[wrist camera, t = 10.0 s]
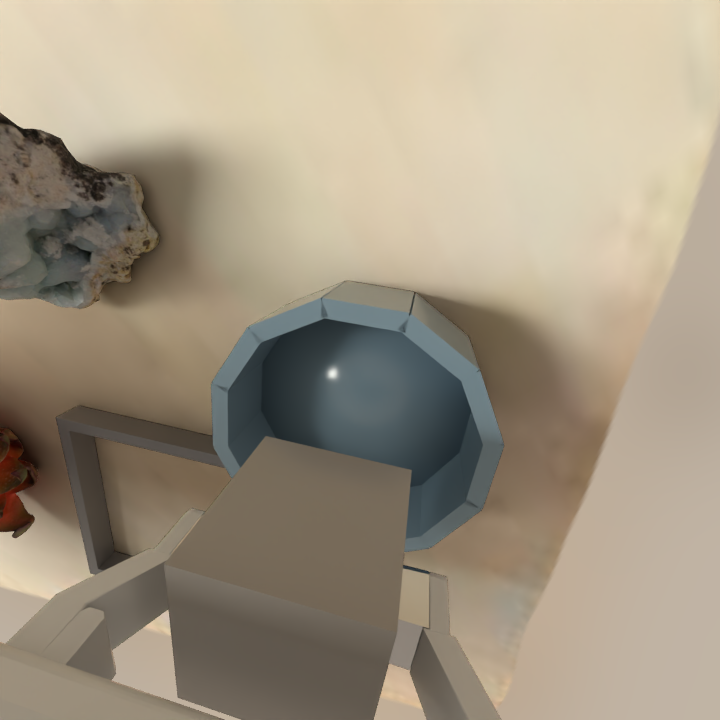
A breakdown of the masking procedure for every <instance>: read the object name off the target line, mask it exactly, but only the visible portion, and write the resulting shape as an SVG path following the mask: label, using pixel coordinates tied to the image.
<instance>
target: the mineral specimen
mask: <svg viewBox="0 0 720 720" xmlns="http://www.w3.org/2000/svg"><path fill="white" fill-rule="evenodd" d="M143 200H144V196H143V191H142V187H141V185H140V184H139V183H138V182H137V180H136V179H135V176H134V175H131V174H128V173H107V172H102V171H100V170H99V169H97V168H95V167H92V166H90V165H87V164H81V163H79V162H78V161H76V160H75V158H74V157H73V156H72V155H71V153H70V152H69V151H68V150H67V148H66V146H65V145H64V143H63V141H62V140H61V138H58V137H56V136H54V135H52V134H49V133H47V132H44V131H41V130H37V129H23V128H21V127H19V126H17V125H16V124H15V123H13V122H12V121H11V120H9V119H8V118H7V117H5V116H4V115H3V114H1V113H0V299H5V300H14V299H32V298H38V299H42V300H45V301H47V302H50V303H52V304H54V305H56V306H60V307H73V308H79V309H82V308H86V307H88V306H90V305H92V304H93V303H94V302H97V301H99V293H100V292H101V290H102V288H103V286H104V285H105V284H106V283H109V282H112V281H117V282H120V283H129V282H130V281H131V277H130V273H131V264H132V263H133V261H134V259H138V258H140V257H141V254H144V253H147V252H149V251H152V250H153V249H154V248H155V247H156V246H157V245H158V244H159V237H160V235H159V234H158V232H157V231H156V229H155V228H154V227H153V226H152V224H151V223H150V222H149V220H148V217H147V215H146V214H145V212H144V211H143V209H142V208H141V207H142V204H143Z"/></svg>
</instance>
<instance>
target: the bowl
mask: <svg viewBox="0 0 720 720" xmlns="http://www.w3.org/2000/svg"><path fill="white" fill-rule="evenodd" d="M211 397H212V430H213V446H214V447H213V448H214V449H215V451H216V453H217V454H218V456H219V458H220V459H221V461H222V463H223V465H224V466H225V468H226V470H227V471H228V473H229V475H230V476H231V478H233V477H234V475H235V474H236V473H237V472H238V470H239V469H240V468H241V467H242V465H243V464H244V463H245V462H246V460H247V459H248V458H249V457H250V455H251V454H252V453H253V451H254V450H255V449H256V448H257V446H258V445H259V444H260V443H261V441H262V440H263V439H264V438H265V436H268V437H272V438H277V439H281V440H285V441H289V442H294V443H298V444H302V445H307V446H311V447H315V448H319V449H324V450H328V451H332V452H337V453H341V454H345V455H349V456H354V457H358V458H362V459H367V460H371V461H375V462H379V463H384V464H388V465H392V466H396V467H401V468H405V469H409V470H412V472H411V483H410V494H409V506H408V517H407V528H406V539H405V550H404V552H409V551H416V550H422V549H429V547H430V548H431V547H432V546H434V545H435V544H436V543H438V542H439V541H441V540H442V539H443V538H445V537H446V536H447V535H449V534H450V533H451V532H453V531H454V530H455V529H457V528H458V527H460V526H461V525H462V524H464V523H465V522H466V521H468V520H469V519H470V518H472V517H473V516H474V515H476V514H477V513H479V512H480V511H481V510H482V509H483V507H484V504H485V501H486V498H487V495H488V492H489V489H490V486H491V483H492V480H493V477H494V474H495V471H496V468H497V465H498V462H499V459H500V457H501V454H502V451H503V448H504V442H503V439H502V436H501V433H500V430H499V427H498V424H497V421H496V418H495V415H494V412H493V408H492V405H491V402H490V399H489V396H488V393H487V390H486V387H485V384H484V381H483V378H482V375H481V372H480V369H479V366H478V363H477V360H476V357H475V354H474V351H473V348H472V345H471V342H470V339H469V337H468V335H467V334H465V333H464V332H463V331H462V330H461V329H459V328H458V327H457V326H456V325H455V324H453V323H452V322H451V321H450V320H448V319H447V318H446V317H445V316H444V315H442V314H441V313H440V312H439V311H438V310H436V309H435V308H434V307H433V306H432V305H430V304H429V303H428V302H427V301H426V300H424V299H423V298H422V297H421V296H420V295H418V294H417V293H415V294H414V292H413V291H407V290H401V289H395V288H389V287H383V286H377V285H371V284H365V283H359V282H353V281H344V282H341V283H339V284H336V285H334V286H331V287H329V288H326V289H324V290H321V291H319V292H316V293H314V294H311V295H309V296H307V297H304V298H302V299H299V300H297V301H294V302H292V303H289V304H287V305H285V306H284V307H282V308H280V309H278V310H277V311H275V312H273V313H271V314H270V315H268V316H266V317H264V318H263V319H261V320H259V321H257V322H255V323H254V324H252V325H250V326H249V327H247V329H246V330H245V332H244V333H243V335H242V336H241V338H240V340H239V341H238V343H237V344H236V346H235V347H234V349H233V350H232V352H231V353H230V355H229V356H228V358H227V360H226V361H225V363H224V364H223V366H222V367H221V369H220V370H219V372H218V373H217V375H216V376H215V378H214V380H213V381H212V384H211Z"/></svg>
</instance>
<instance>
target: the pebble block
mask: <svg viewBox="0 0 720 720" xmlns="http://www.w3.org/2000/svg"><path fill="white" fill-rule="evenodd" d="M411 472H412V470H409V469H405V468H401V467H396V466H392V465H388V464H384V463H379V462H375V461H371V460H367V459H362V458H358V457H354V456H349V455H345V454H341V453H337V452H332V451H328V450H324V449H319V448H315V447H311V446H307V445H302V444H298V443H294V442H289V441H285V440H281V439H277V438H272V437H268V436H265V438H264V439H263V440H262V441H261V443H260V444H259V445H258V446H257V448H256V449H255V450H254V451H253V453H252V454H251V455H250V457H249V458H248V459H247V460H246V462H245V463H244V464H243V465H242V467H241V468H240V469H239V470H238V472H237V473H236V474H235V475H234V477H233V478H232V479H231V480H230V482H229V483H228V484H227V485H226V487H225V488H224V489H223V491H222V492H221V493H220V494H219V496H218V497H217V498H216V499H215V501H214V502H213V503H212V504H211V506H210V507H209V508H208V509H207V511H206V512H205V513H204V514H203V516H202V517H201V518H200V520H199V521H198V522H197V523H196V525H195V526H194V527H193V528H192V530H191V531H190V532H189V533H188V535H187V536H186V537H185V538H184V540H183V541H182V542H181V543H180V545H179V546H178V547H177V548H176V550H175V551H174V552H173V554H172V555H171V556H170V557H169V559H168V560H167V561H166V562H165V564H164V569H165V579H166V589H167V598H168V608H169V618H170V627H171V637H172V646H173V656H174V665H175V676H176V685H177V695H178V698H181V699H183V700H186V701H189V702H192V703H195V704H198V705H201V706H204V707H207V708H209V709H212V710H215V711H218V712H221V713H224V714H227V715H230V716H233V717H235V718H239V719H241V720H374V716H375V712H376V708H377V705H378V701H379V698H380V694H381V690H382V687H383V683H384V679H385V676H386V672H387V668H388V665H389V661H390V657H391V653H392V650H393V646H394V642H395V639H396V635H397V629H398V617H399V606H400V595H401V584H402V573H403V562H404V550H405V539H406V528H407V517H408V506H409V494H410V483H411Z"/></svg>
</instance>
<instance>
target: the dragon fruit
mask: <svg viewBox="0 0 720 720" xmlns="http://www.w3.org/2000/svg"><path fill="white" fill-rule="evenodd" d="M22 453H23V446H22V444H21V443H20V441H19V438H18V437H17V436H15V435H14V433H13V432H11V430H10V429H8V428H0V532H11V531H14V533H13V535H12V537H13V538H17V537H19V536H20V535H22V534H23V533H24V532H26V531H27V530H28V529H29V528H30V527H31V525H32V524H33V522H34V520H35V518H34V516H33V515H30V514H29V513H28V512H27V510H26V509H25V507H24V505H23V503H22V502H21V500H20V498H19V497H18V496H17V495H16V494H15V493H17V492H19V491H21V490H24V489H26V488H28V487H31V486H33V485H35V484H36V482H37V479H38V468H37V467H35V466H33V465H32V464H31V463H30V462H26V461H23V460H19V459H18V458H19V457H20V456H21V455H22Z"/></svg>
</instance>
